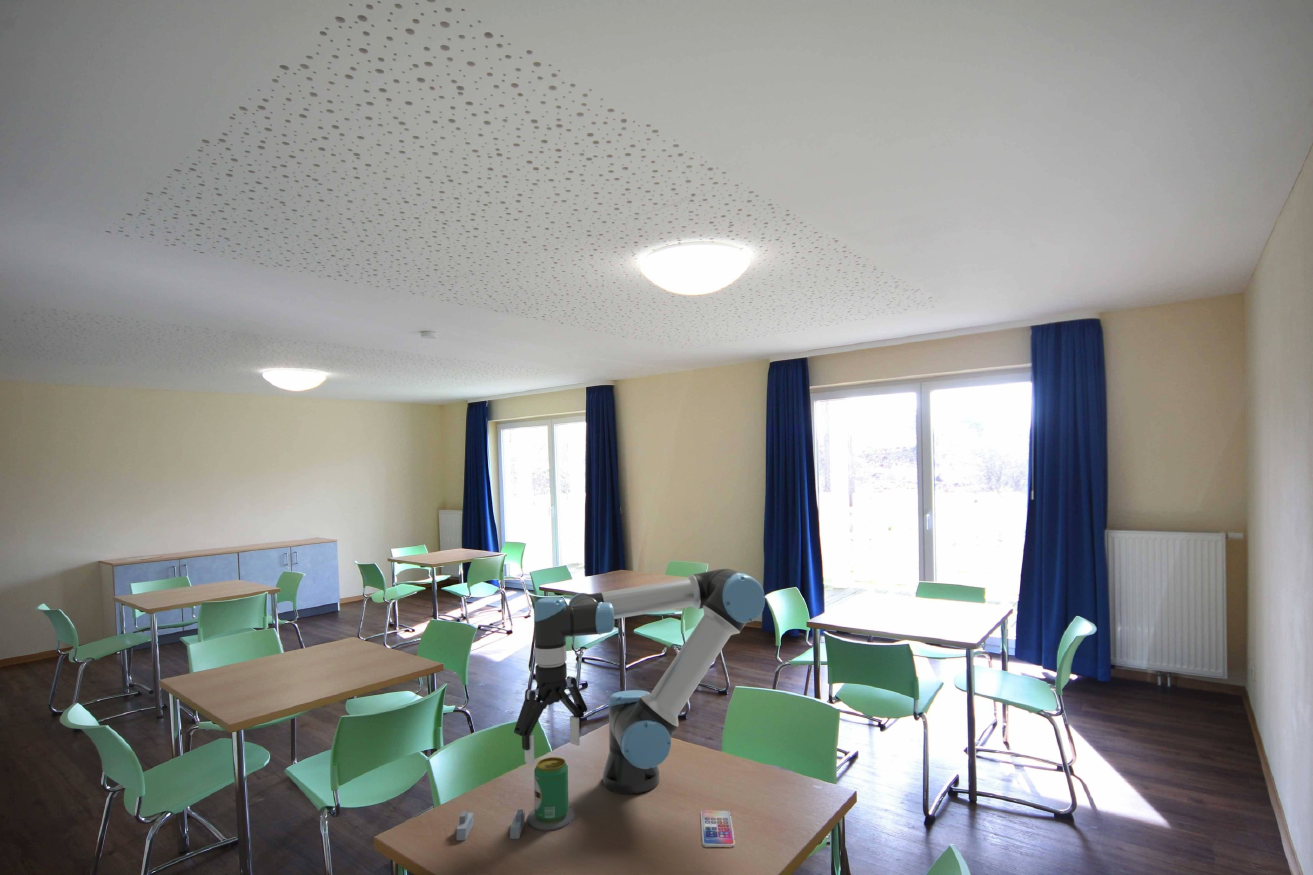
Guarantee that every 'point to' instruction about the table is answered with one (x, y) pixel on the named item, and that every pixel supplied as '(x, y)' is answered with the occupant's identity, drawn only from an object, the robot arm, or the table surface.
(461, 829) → the twin notched blocks
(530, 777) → the table surface
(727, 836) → the smartphone
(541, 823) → the coaster
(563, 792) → the beverage can
